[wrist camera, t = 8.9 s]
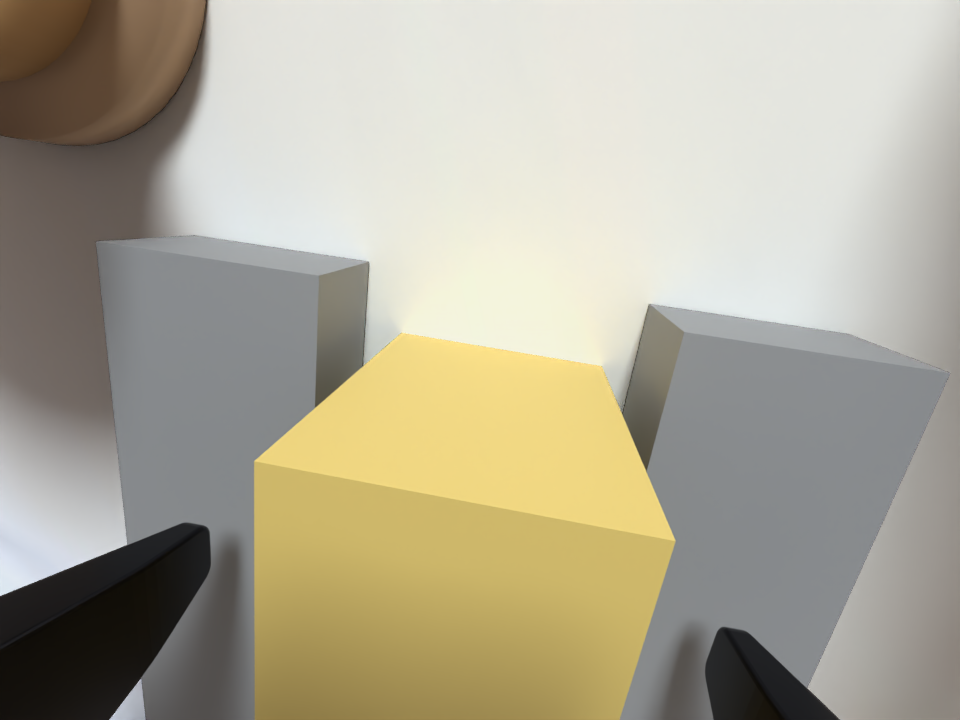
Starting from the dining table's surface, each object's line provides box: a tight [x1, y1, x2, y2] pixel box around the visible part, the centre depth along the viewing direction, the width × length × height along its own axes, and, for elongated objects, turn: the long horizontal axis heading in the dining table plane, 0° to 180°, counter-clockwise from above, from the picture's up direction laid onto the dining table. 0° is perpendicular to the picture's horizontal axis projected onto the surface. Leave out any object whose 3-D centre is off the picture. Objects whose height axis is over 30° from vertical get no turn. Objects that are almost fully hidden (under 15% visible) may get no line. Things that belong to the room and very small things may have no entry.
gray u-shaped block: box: [96, 235, 950, 720], centre depth 11 cm, size 14×12×2 cm
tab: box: [254, 333, 676, 720], centre depth 9 cm, size 7×4×6 cm, turn 172°
